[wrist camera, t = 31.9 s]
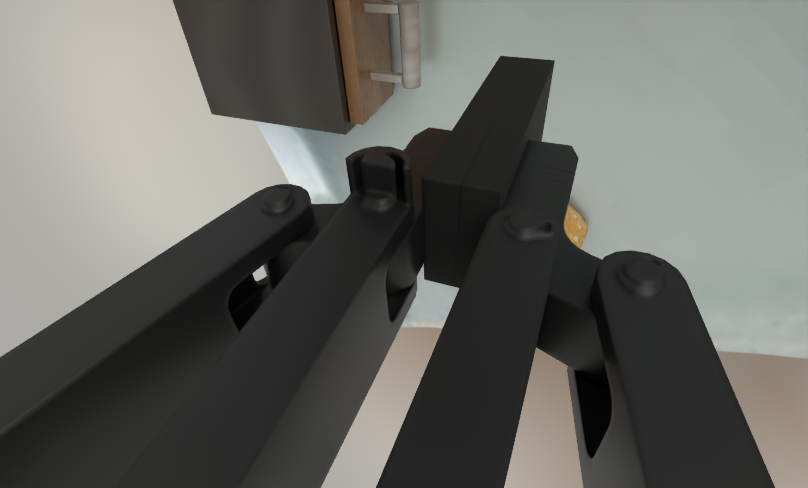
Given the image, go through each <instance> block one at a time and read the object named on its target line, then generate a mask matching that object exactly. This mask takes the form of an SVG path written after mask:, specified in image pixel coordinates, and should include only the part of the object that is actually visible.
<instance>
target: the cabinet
mask: <svg viewBox="0 0 808 488" xmlns="http://www.w3.org/2000/svg"><path fill="white" fill-rule="evenodd" d="M173 2H174V5H175V8H176V11H177V14H178V17H179V20H180V23H181V26H182V29H183V31H184V34H185V37H186V40H187V43H188V46H189V49H190V52H191V55H192V58H193V61H194V64H195V66H196V69H197V72H198V75H199V78H200V81H201V84H202V87H203V90H204V92H205V95H206V98H207V101H208V104H209V107H210V110H211V113H212V114H215V115H221V116H228V117H234V118H241V119H247V120H254V121H260V122H266V123H273V124H279V125H286V126H292V127H299V128H305V129H312V130H318V131H325V132H331V133H338V134H344V135H346V134H347V133H348V132H349V131H350V130H351V129H352V128H353V127H354V126H355V125H356V124H354V123H351V122H350V115H349V108H348V101H347V102H346V97H345V90H344V83H343V76H342V68H341V61H340V54H339V47H338V39H337V32H336V25H335V18H334V10H333V3H332V0H173Z"/></svg>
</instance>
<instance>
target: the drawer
mask: <svg viewBox="0 0 808 488" xmlns="http://www.w3.org/2000/svg"><path fill="white" fill-rule="evenodd" d="M332 3H333V10H334V18H335V25H336V32H337V39H338V47H339V54H340V61H341V68H342V76H343V83H344V90H345V97H346V102H347V101H348V108H349V115H350V122H351V123H354V124H361V125H363V124H364V123H365V122H366V121H367V120H368V119H369V118H370V117H371V116H372V115H373V114H374V113H375V112H376V111H377V110H378V109H379V108H380V107H381V106H382V105H383V104H384V102H385V101H386V100H387V99H388V98H389V97H390V96H391V95H392V94H393V85H392V82H393V83H403V87H404V88H407V89H415V88H418V87H420V85H421V72H420V33H419V2H418V0H402V1H400V2H399V3H388V2H387V0H332ZM388 14H399V20H400V40H401V59H402V73H395V72H392V70H391V55H390V40H389V25H388Z"/></svg>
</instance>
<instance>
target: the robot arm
mask: <svg viewBox="0 0 808 488" xmlns="http://www.w3.org/2000/svg"><path fill="white" fill-rule="evenodd" d="M553 67H554V61H553V60H542V59H530V58H518V57H507V56H500V58H499V59H498V61H497V62H496V64H495V65H494V67H493V68H492V70H491V71H490V73H489V75H488V76H487V78H486V79H485V81H484V82H483V84H482V85H481V87H480V88H479V90H478V91H477V93H476V95H475V96H474V98H473V99H472V101H471V102H470V104H469V105H468V107H467V108H466V110H465V111H464V113H463V115H462V116H461V118H460V119H459V121H458V122H457V124H456V125H455V127H454V128H453V130H452V131H450V130H443V129H436V128H427V129H426V130H424V131H422V132H420V133H419V134H417V135H415V136H414V137H413V138H412V140H411V141H410V142H409V144H408V145H407V146H406V149H404V150H403V151H402V150H399V149H396V148H392V147H382V146H376V147H369V148H364V149H361V150H359V151H356V152H354V153H352V154H351V155H349V156H348V157H347V158H345V159H346V165H347V172H348V178H349V185H350V192H351V194H350V195H349V196H348V198H347V199H346V200H345V201H344V203H339V204H311V199H310V196H309V194H308V191H306V190H305V189H303V188H302V187H300V186H296V185H292V184H280V185H275V186H271V187H267V188H265V189H262V190H260V191H258V192H256V193H255V194H253V195H251V196H250V197H248V198H247V199H245V200H244V201H242V202H241V203H239V204H237V205H236V206H234V207H233V208H231V209H230V210H228V211H227V212H225V213H223V214H222V215H220V216H219V217H217V218H216V219H214V220H213V221H211V222H210V223H208V224H206V225H205V226H203V227H202V228H200V229H199V230H197V231H196V232H194V233H192V234H191V235H189V236H188V237H186V238H185V239H183V240H182V241H180V242H179V243H177V244H175V245H174V246H172V247H171V248H169V249H168V250H166V251H165V252H163V253H162V254H160V255H158V256H157V257H155V258H154V259H152V260H151V261H149V262H147V263H146V264H144V265H143V266H141V267H140V268H138V269H137V270H135V271H134V272H132V273H130V274H129V275H127V276H126V277H124V278H123V279H121V280H120V281H118V282H116V283H115V284H113V285H112V286H110V287H109V288H107V289H106V290H104V291H103V292H101V293H100V294H98V295H96V296H95V297H93V298H92V299H90V300H89V301H87V302H85V303H84V304H83V305H81V306H79V307H78V308H76V309H75V310H73V311H71V312H70V313H69V314H67V315H65V316H64V317H62V318H61V319H59V320H57V321H56V322H54V323H53V324H51V325H50V326H48V327H47V328H45V329H43V330H42V331H40V332H39V333H37V334H36V335H34V336H33V337H31V338H29V339H28V340H26V341H25V342H23V343H22V344H20V345H19V346H17V347H16V348H14V349H12V350H11V351H10V352H8V353H6V354H5V355H3V356H2V357H0V488H321V486H322V484H323V482H324V480H325V478H326V476H327V474H328V472H329V470H330V468H331V466H332V464H333V462H334V459H335V458H336V456H337V454H338V452H339V449H340V447H341V446H342V444H343V442H344V439H345V437H346V435H347V433H348V431H349V429H350V427H351V425H352V423H353V421H354V419H355V417H356V415H357V413H358V411H359V409H360V407H361V405H362V403H363V401H364V399H365V397H366V395H367V393H368V391H369V389H370V387H371V385H372V383H373V381H374V379H375V377H376V375H377V373H378V371H379V369H380V367H381V365H382V363H383V361H384V359H385V357H386V355H387V353H388V351H389V349H390V347H391V345H392V343H393V341H394V339H395V337H396V334H397V333H398V331H399V329H400V327H401V325H402V323H403V321H404V319H405V317H406V315H407V313H408V310H409V308H410V306H411V304H412V302H413V300H414V298H415V296H416V292H417V275H418V273H419V271H420V269H421V267H422V265H423V264H424V279H425V280H429V281H433V282H437V283H441V284H445V285H449V286H453V287H458V288H459V291H458V293H457V296H456V298H455V300H454V303H453V305H452V308H451V310H450V312H449V315H448V317H447V319H446V322H445V324H444V327H443V329H442V331H441V334H440V336H439V339H438V341H437V343H436V346H435V348H434V351H433V353H432V356H431V358H430V360H429V362H428V365H427V367H426V370H425V372H424V375H423V377H422V379H421V382H420V384H419V386H418V389H417V391H416V394H415V396H414V398H413V401H412V403H411V405H410V408H409V410H408V412H407V415H406V417H405V420H404V422H403V424H402V427H401V429H400V432H399V434H398V436H397V439H396V441H395V444H394V446H393V448H392V451H391V453H390V455H389V458H388V460H387V463H386V465H385V467H384V470H383V472H382V475H381V477H380V479H379V482H378V484H377V486H376V488H504V485H505V481H506V476H507V472H508V468H509V463H510V459H511V454H512V450H513V445H514V441H515V437H516V432H517V428H518V424H519V419H520V415H521V410H522V406H523V402H524V397H525V393H526V388H527V384H528V380H529V375H530V371H531V366H532V362H533V358H534V353H535V349H536V347H537V348H539V349H540V350H542V351H544V352H546V353H547V354H549V355H550V356H552V357H554V358H556V359H557V360H559V361H561V362H563V363H564V364H566V365H567V366H568V369H567V372H568V379H569V386H570V393H571V400H572V408H573V415H574V423H575V430H576V437H577V444H578V451H579V459H580V466H581V472H582V480H583V487H584V488H775V487H774V484H773V482H772V480H771V477H770V475H769V473H768V470H767V468H766V466H765V464H764V461H763V459H762V456H761V454H760V452H759V449H758V447H757V445H756V442H755V440H754V438H753V435H752V433H751V431H750V429H749V426H748V424H747V421H746V419H745V417H744V414H743V412H742V410H741V407H740V405H739V403H738V400H737V398H736V396H735V393H734V391H733V389H732V387H731V384H730V382H729V380H728V377H727V375H726V373H725V370H724V368H723V366H722V363H721V361H720V359H719V356H718V354H717V352H716V349H715V347H714V345H713V342H712V340H711V338H710V335H709V333H708V331H707V328H706V326H705V324H704V321H703V319H702V317H701V314H700V312H699V310H698V307H697V305H696V303H695V300H694V298H693V296H692V293H691V291H690V289H689V286H688V284H687V282H686V280H685V279H684V277H683V276H682V275H681V273H680V272H679V270H678V269H676V268H675V267H673V266H672V265H671V264H669V263H668V262H667V261H665V260H663V259H661V258H658V257H656V256H654V255H651V254H649V253H643V252H637V251H620V252H615V253H613V254H610V255H608V256H605V257H604V259H603V260H601V259H599V258H597V257H595V256H592V255H590V254H588V253H587V252H585V251H583V250H581V249H580V248H578V247H577V246H576V245H575V244H573V243H572V242H571V240H570V239H569V238H568V236H567V235H566V232H565V230H564V221H565V216H566V212H567V207H568V203H569V198H570V194H571V189H572V185H573V180H574V176H575V171H576V167H577V163H578V157H577V155H576V153H575V151H574V149H573V147H572V146H569V145H562V144H554V143H547V142H541V141H542V135H543V129H544V122H545V116H546V110H547V104H548V98H549V92H550V85H551V79H552V73H553ZM262 265H263V266H264V269H265V271H266V274H267V276H266V277H265V278H263V279H261V280H259V281H255V280H254V277H253V274H252V273H253V272H255V271H256V270H257V269H259V268H260V267H261V266H262Z"/></svg>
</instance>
